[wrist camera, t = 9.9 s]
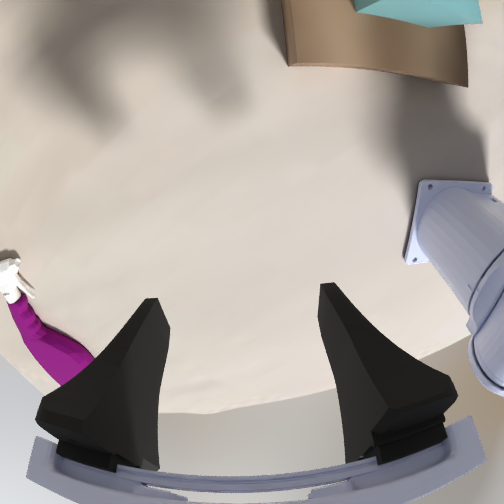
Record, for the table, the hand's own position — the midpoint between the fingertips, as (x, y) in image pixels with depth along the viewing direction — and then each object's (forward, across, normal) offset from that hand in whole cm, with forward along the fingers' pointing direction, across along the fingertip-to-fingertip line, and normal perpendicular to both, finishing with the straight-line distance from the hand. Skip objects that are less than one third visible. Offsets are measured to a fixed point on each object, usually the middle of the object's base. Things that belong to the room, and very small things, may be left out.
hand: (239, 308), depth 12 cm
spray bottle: (+10, +26, +13) cm, 31 cm away
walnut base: (+9, -10, -16) cm, 21 cm away
